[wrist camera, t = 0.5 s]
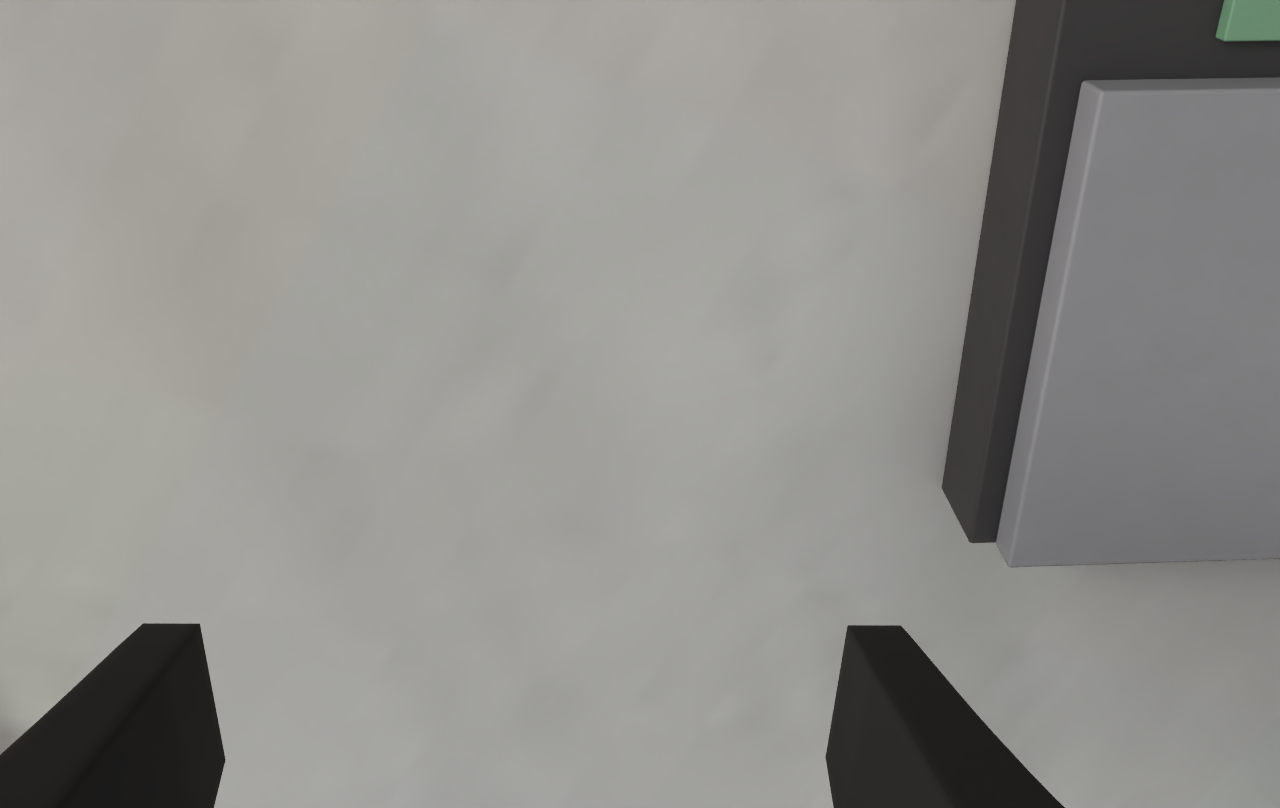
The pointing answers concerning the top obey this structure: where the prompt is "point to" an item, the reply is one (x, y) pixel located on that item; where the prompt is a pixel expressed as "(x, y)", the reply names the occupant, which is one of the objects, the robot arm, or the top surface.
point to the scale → (1127, 291)
